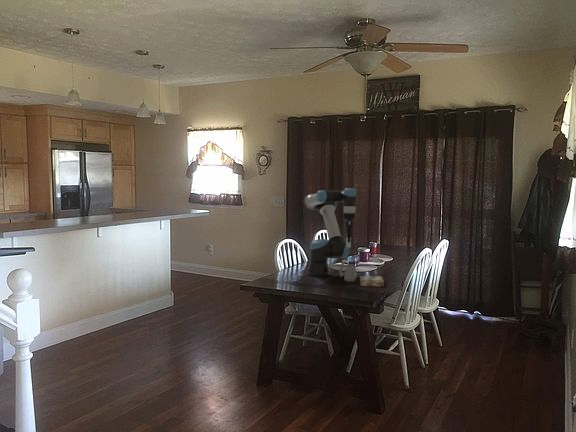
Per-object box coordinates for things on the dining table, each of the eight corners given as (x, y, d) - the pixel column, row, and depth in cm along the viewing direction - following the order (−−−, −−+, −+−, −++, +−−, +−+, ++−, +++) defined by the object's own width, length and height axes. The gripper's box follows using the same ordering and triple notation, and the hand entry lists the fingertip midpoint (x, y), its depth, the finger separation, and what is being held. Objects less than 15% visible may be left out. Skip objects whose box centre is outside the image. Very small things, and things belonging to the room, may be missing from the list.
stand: (360, 285, 295) (360, 280, 295) (359, 280, 309) (359, 275, 308) (383, 286, 294) (383, 281, 293) (381, 281, 307) (381, 275, 307)
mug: (352, 282, 303) (352, 263, 302) (336, 279, 310) (336, 261, 309) (358, 280, 309) (358, 261, 308) (342, 277, 316) (342, 259, 315)
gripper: (356, 214, 292) (355, 248, 294) (354, 211, 317) (353, 242, 319) (343, 214, 293) (342, 248, 295) (343, 210, 318) (342, 242, 320)
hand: (348, 245), depth 307 cm, fingers open, 13 cm apart
